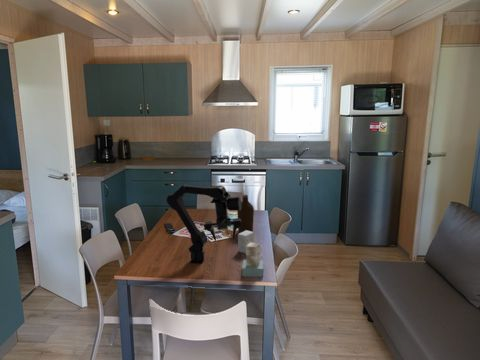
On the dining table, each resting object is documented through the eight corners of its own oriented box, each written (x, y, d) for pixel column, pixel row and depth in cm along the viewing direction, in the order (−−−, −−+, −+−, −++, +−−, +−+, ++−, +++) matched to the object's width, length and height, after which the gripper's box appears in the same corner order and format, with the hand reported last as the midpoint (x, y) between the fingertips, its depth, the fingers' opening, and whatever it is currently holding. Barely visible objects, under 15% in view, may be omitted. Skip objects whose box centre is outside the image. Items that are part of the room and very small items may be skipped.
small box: (246, 247, 198) (246, 229, 196) (254, 249, 195) (254, 231, 193) (237, 251, 192) (237, 233, 190) (245, 253, 189) (245, 235, 187)
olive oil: (244, 236, 216) (244, 198, 211) (234, 232, 224) (233, 195, 219) (257, 232, 222) (257, 195, 218) (246, 228, 231) (246, 192, 226)
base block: (242, 276, 163) (242, 268, 162) (243, 267, 173) (243, 259, 172) (263, 276, 162) (263, 268, 161) (263, 267, 172) (263, 260, 171)
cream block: (246, 265, 165) (246, 245, 163) (250, 261, 170) (250, 242, 168) (255, 267, 163) (255, 247, 161) (259, 263, 168) (259, 243, 166)
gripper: (201, 217, 164) (205, 247, 167) (240, 213, 164) (243, 243, 167) (203, 211, 175) (206, 239, 178) (239, 207, 175) (242, 236, 178)
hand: (224, 240), depth 175 cm, fingers open, 9 cm apart
